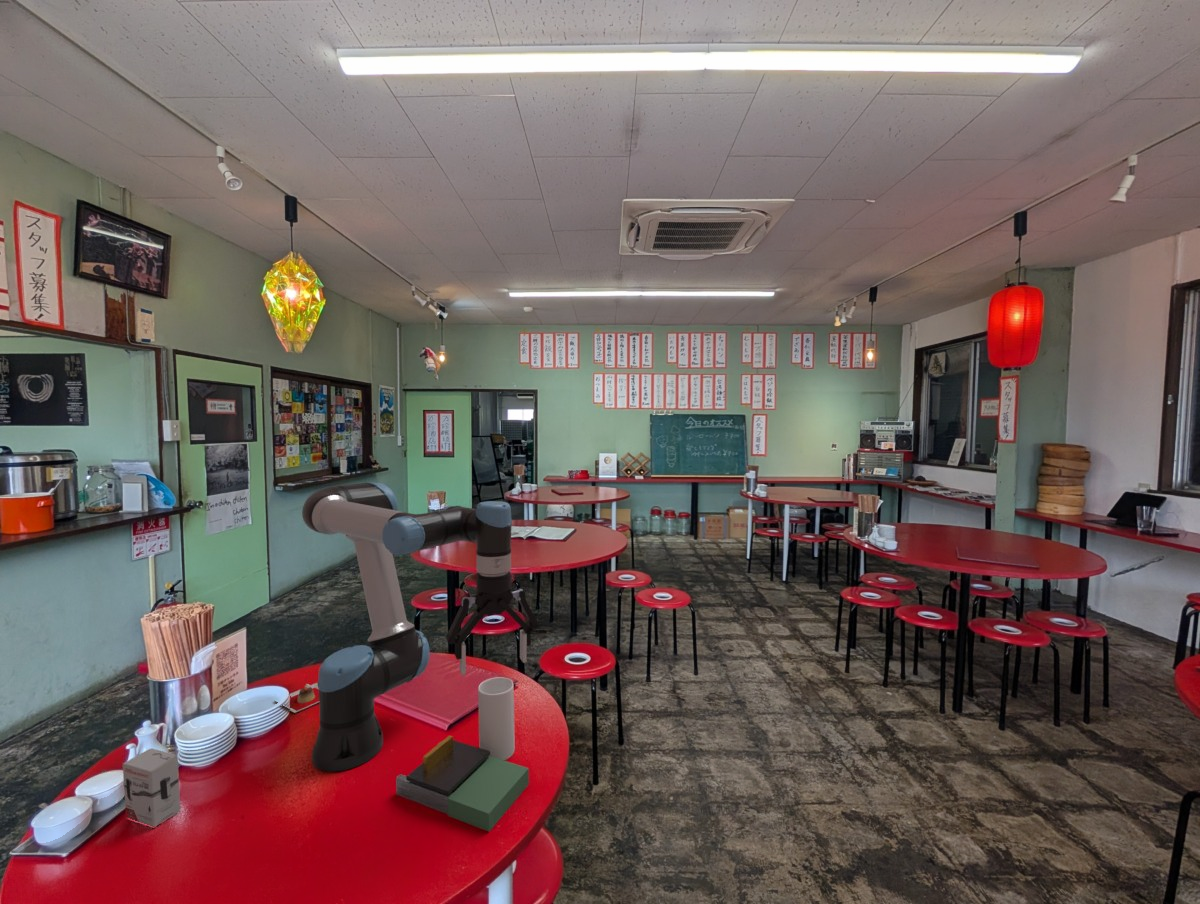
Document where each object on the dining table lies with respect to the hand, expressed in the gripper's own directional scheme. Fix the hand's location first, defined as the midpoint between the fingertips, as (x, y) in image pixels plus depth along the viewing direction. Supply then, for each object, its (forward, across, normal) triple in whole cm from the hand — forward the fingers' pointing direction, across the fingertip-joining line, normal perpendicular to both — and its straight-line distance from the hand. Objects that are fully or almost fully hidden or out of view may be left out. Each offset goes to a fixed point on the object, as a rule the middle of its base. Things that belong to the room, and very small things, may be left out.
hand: (493, 666), depth 110 cm
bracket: (+24, -10, +1) cm, 26 cm away
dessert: (+27, -41, +55) cm, 74 cm away
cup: (+24, +2, +6) cm, 25 cm away
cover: (+20, -10, -1) cm, 22 cm away
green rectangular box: (+24, -3, -9) cm, 25 cm away
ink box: (+26, -64, +18) cm, 71 cm away
